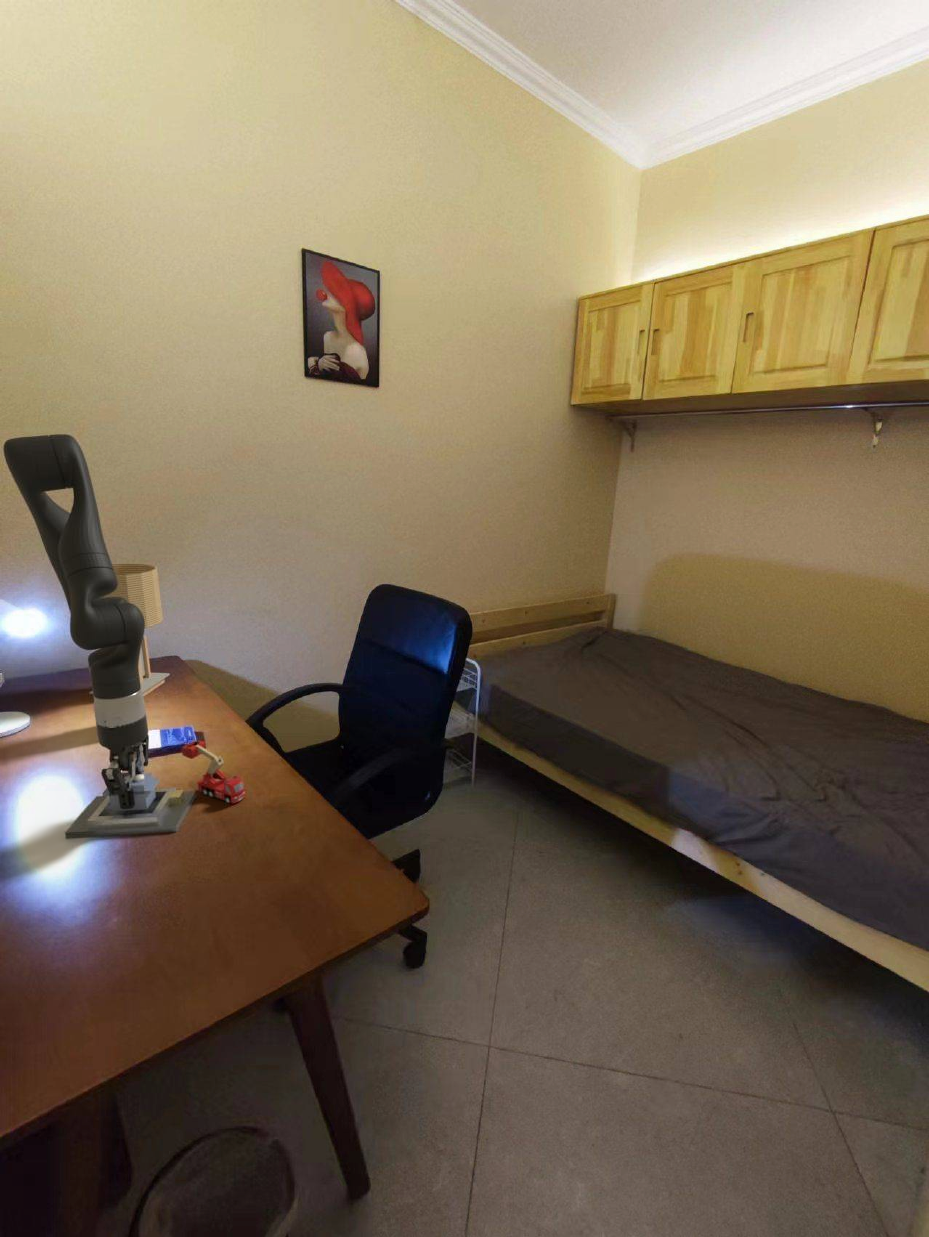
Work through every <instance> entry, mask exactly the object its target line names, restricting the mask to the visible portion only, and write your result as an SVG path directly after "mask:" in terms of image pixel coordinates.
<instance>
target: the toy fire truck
mask: <svg viewBox="0 0 929 1237" xmlns="http://www.w3.org/2000/svg"><path fill="white" fill-rule="evenodd" d="M181 755H182V756H183V757H185V758H188V759H190V760H192V759H195V758H197V757H198V756H201V755H203V756H205V758H208V759H209V760H211V761H210V764H209V766H208V768H207V770H206V772H205V774H203V775H202V776H203V777H202V779H201V780H199V781H198V782H197V787H198V791H199V792H202V793H203V794H204V795H205V796H207V795H209V797H210V798H214V797H215V798H217V799H220V800H222V801H225V802H226V803H227V804H236V803H238V802H240V801H242V800H244V798H245V797H246V790H245V783H244V780H243V779H242V777H241V776H238V775H234V776H231V777H230V778H228V779H227V776H226V775H225V774H224V773H223V772H222V771H220V769H221V768H222V767H223V765H224V764H225V762H224V760H223V758H222V757H221V756H220V755H215V754H214V753H213V752H211V751H209V750H207V749H206V743H205V741H201V740H194V741H193V742H191V743H188V744H186V745H185V746H182V747H181Z"/></svg>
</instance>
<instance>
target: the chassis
mask: <svg viewBox="0 0 929 1237" xmlns="http://www.w3.org/2000/svg"><path fill="white" fill-rule="evenodd" d="M155 795H156V797H155V799H154V800H153V801H152V803H151V804H150V806H149V807H148V809H145V810H127V811H111V806H110V800H109V796H103V795H98V796H97V795H96V796H95V797H94V798H93V800H92V801H90V803H89V804H88V806H86V808H84V810H83V811H82V812H81V814H79V816H78V817H77V818H76V819H75V820H74V822H73V823H72V824H71V825H70V826H69V827H68V829H66V831H65V832H64V835H65V838H66V839H67V840H68V839H69V840H70V839H82V838H83V839H84V838H95V837H100V838H101V837H111V836H112V837H113V836H128V835H129V836H131V835H145V834H159V833H174V832H175V833H176V832H178V830H179V828H181V827H180V826H181V825H182V822H183V821H184V819H185V817H186V816H187V814H188V812H189V810H190V809H191V807H192V805H193V803H194V801H195V799H196V798H197V792H196V790H190V791H189V790H188V791H187V790H186V791H185V790H184V789H176V787H161V788H156V787H155Z"/></svg>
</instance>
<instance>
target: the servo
mask: <svg viewBox="0 0 929 1237" xmlns="http://www.w3.org/2000/svg"><path fill="white" fill-rule="evenodd" d="M124 780H125V783H126V779H125V778H124ZM159 783H160V778H154V773H144V774H135V776H133V777H132V788H133V795H134V802H135V805H134V807H133V808H131V809H121V808H120V803H119V796H118V794H110V793H109V791H108V789H107V787H106V788H105V789H104V791H103V792H102V796H109V800H110V806H111V811H127V810H145V809H148V807H149V806H150V804H151V803H152V801H153V800H154V799H155V797H156V795H155V789H156V787H157V786H158V784H159Z"/></svg>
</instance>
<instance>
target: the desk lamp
mask: <svg viewBox="0 0 929 1237" xmlns="http://www.w3.org/2000/svg"><path fill="white" fill-rule="evenodd" d="M112 566H113V569H114V572H115V574H116V577H117V581H118V587H117V589H116V590H115V591H114V592H112V593H110V594H108V595H106V596H103V597H100V598H106V597H123V598H125V599H126V600H127V602H128V603H132V604H134V605H136V606H137V607H138V608H139V609H140V610H141V612H142V614H143V616H144V621H145V629H148V628H151V627H153V626H157V625H160V623H162V622H163V620H164V618H163V617H164V616H163V609H162V600H161V599H162V598H161V590H160V583H159V574H158V567H157V566H156V565H152V564H147V563H146V564H145V563H112ZM147 640H148V639H147V636H146V635H144V636H143V640H142V645H141V650H140V656H139V665H138V668H139V677H140V685H141V691H142V694H143V697H145V696H146V695H148V694H149V693H151V692H153V691H154V690H155V689H156V688H158V687H160V686H162V684H164V683H165V678H167V677H168V676H170V673H167V672H151V667H150V666H151V665H150V658H149V657H150V656H149V647H148V642H147ZM89 694H90V695H93V689H92V690H90V691H89Z"/></svg>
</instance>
